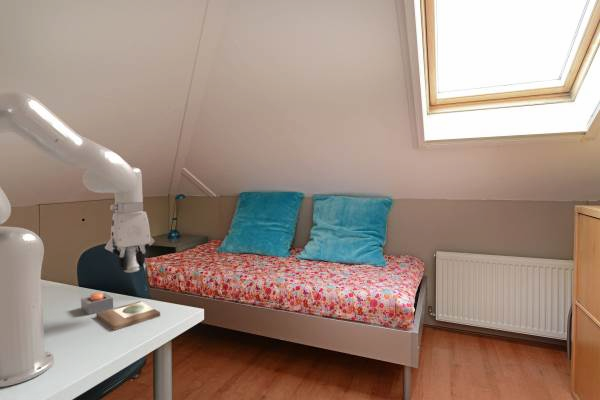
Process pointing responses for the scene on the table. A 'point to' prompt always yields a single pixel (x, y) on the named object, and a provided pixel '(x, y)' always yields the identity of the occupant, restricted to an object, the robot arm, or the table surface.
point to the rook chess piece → (131, 260)
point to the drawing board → (127, 315)
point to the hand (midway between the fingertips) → (131, 267)
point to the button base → (96, 304)
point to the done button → (96, 297)
